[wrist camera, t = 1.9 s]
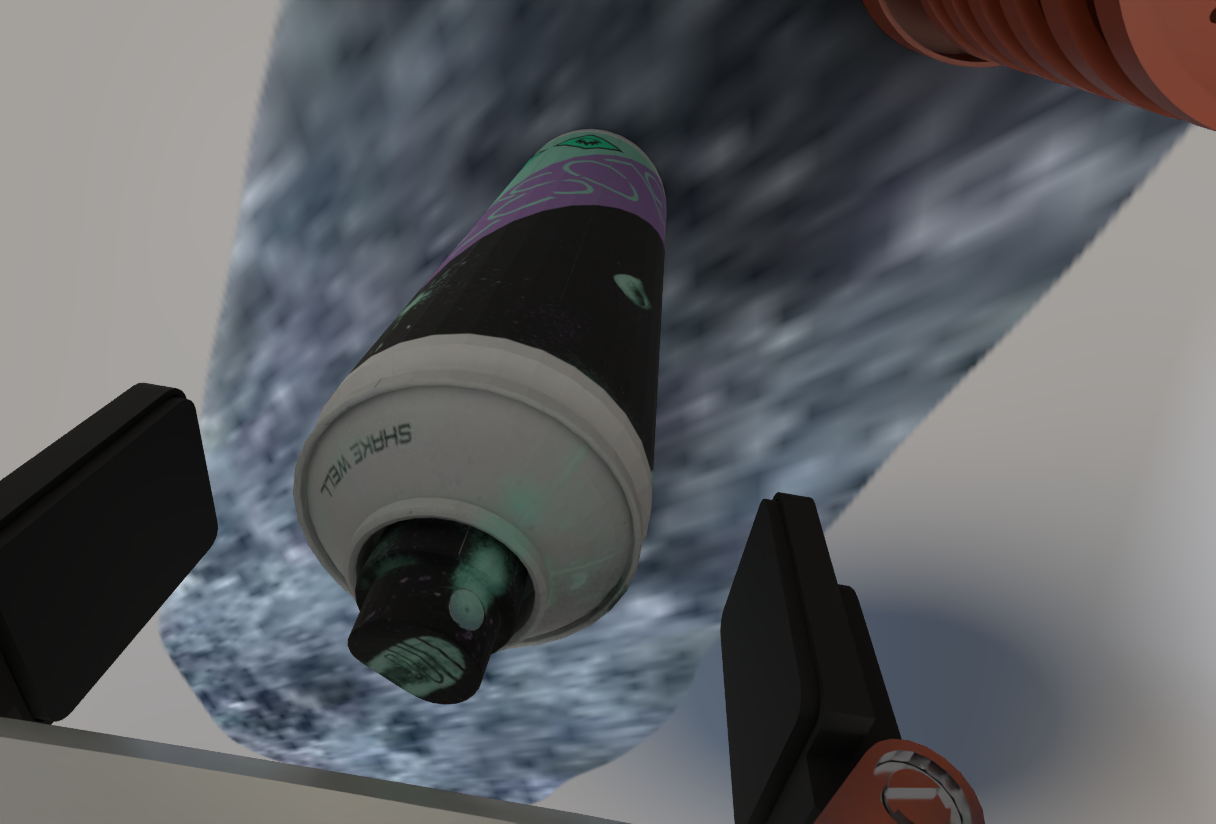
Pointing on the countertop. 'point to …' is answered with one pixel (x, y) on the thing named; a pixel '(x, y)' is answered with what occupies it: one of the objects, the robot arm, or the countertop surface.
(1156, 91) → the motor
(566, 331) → the spray can
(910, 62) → the countertop surface
